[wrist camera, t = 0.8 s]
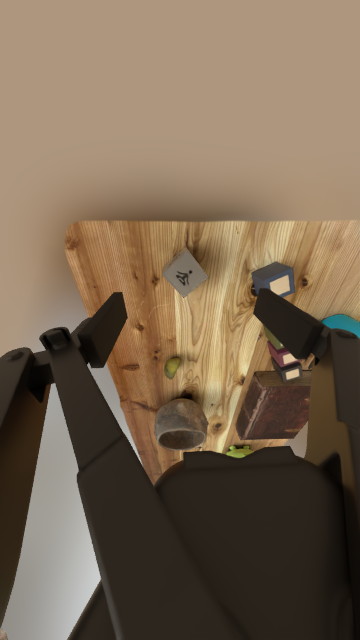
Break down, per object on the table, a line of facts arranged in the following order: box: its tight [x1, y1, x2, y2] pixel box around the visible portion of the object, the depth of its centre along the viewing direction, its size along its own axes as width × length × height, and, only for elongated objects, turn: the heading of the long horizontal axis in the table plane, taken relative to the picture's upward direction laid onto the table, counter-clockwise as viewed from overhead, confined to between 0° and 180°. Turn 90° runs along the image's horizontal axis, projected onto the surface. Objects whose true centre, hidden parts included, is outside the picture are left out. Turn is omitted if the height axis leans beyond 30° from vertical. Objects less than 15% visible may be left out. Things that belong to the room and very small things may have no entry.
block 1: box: [251, 262, 295, 297], centre depth 27 cm, size 4×4×5 cm
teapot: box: [226, 446, 253, 458], centre depth 64 cm, size 20×13×13 cm
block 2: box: [264, 326, 284, 350], centre depth 33 cm, size 4×4×5 cm
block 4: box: [271, 357, 303, 382], centre depth 39 cm, size 4×4×5 cm
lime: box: [164, 358, 181, 379], centre depth 37 cm, size 4×5×5 cm
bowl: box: [154, 399, 208, 451], centre depth 45 cm, size 14×15×10 cm
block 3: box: [268, 341, 301, 367], centre depth 36 cm, size 4×4×5 cm
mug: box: [322, 314, 360, 339], centre depth 32 cm, size 12×8×8 cm
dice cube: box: [162, 246, 209, 298], centre depth 25 cm, size 5×5×5 cm
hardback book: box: [236, 371, 312, 440], centre depth 48 cm, size 29×19×5 cm, turn 0°
